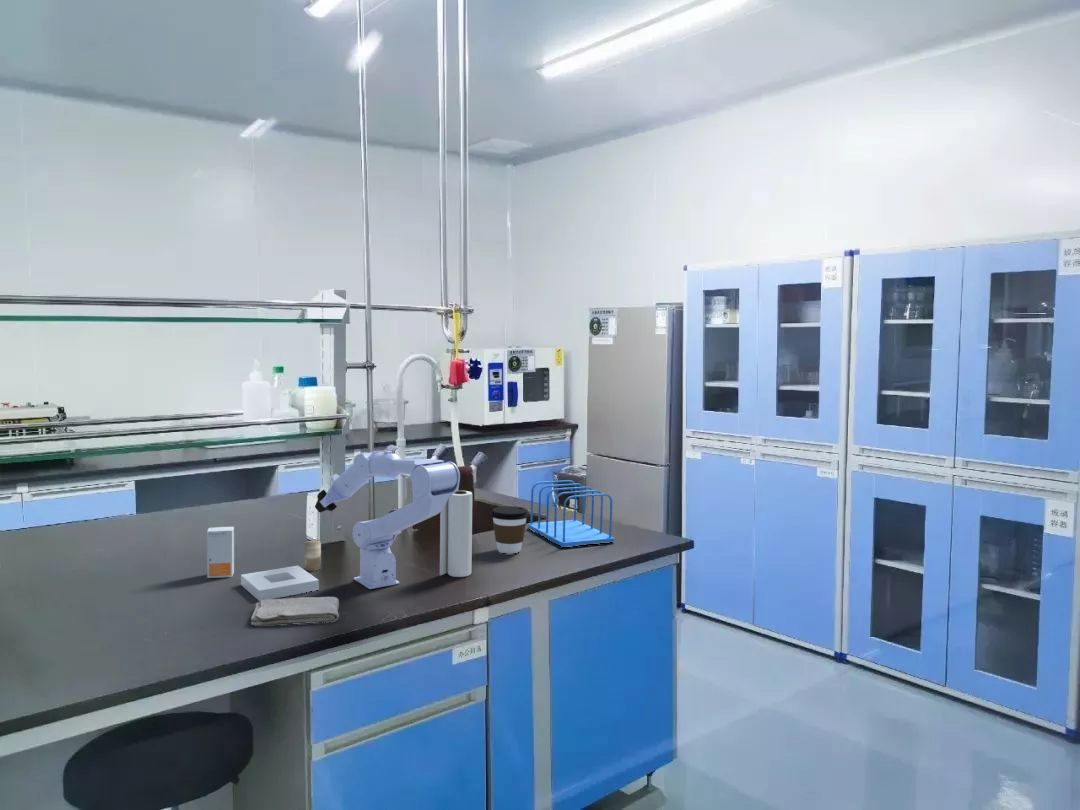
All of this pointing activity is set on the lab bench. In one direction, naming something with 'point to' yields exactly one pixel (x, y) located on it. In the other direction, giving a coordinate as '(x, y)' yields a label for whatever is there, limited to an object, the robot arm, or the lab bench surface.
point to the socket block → (279, 582)
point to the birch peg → (312, 555)
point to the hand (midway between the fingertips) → (327, 501)
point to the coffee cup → (509, 527)
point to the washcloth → (295, 611)
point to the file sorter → (570, 529)
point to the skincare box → (220, 552)
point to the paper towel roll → (456, 535)
